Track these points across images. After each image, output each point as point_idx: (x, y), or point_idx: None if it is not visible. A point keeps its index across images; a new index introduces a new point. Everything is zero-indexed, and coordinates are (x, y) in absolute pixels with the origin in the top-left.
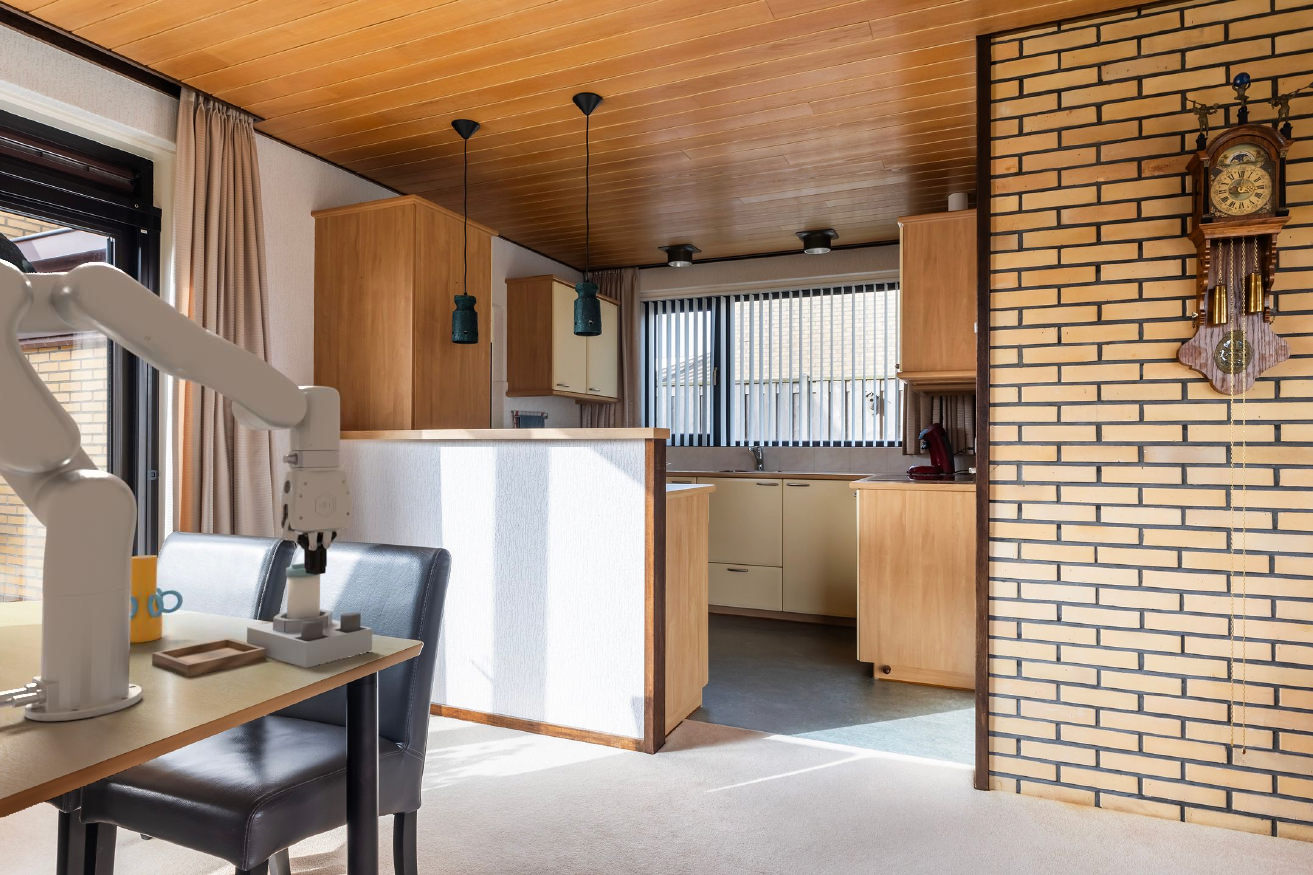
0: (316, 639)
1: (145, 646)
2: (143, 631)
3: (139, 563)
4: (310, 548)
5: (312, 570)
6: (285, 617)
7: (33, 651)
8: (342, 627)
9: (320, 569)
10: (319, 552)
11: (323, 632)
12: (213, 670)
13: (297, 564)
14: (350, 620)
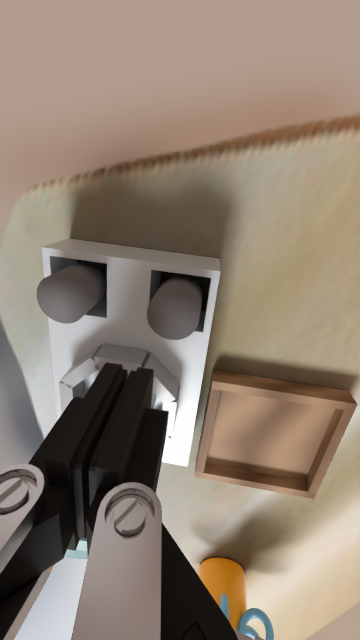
0: (183, 279)
1: (243, 546)
2: (233, 577)
3: None
4: (157, 505)
5: (149, 405)
6: None
7: (316, 612)
8: (97, 292)
9: (121, 383)
10: (102, 451)
11: (134, 316)
12: (305, 384)
13: (85, 541)
14: (79, 278)
